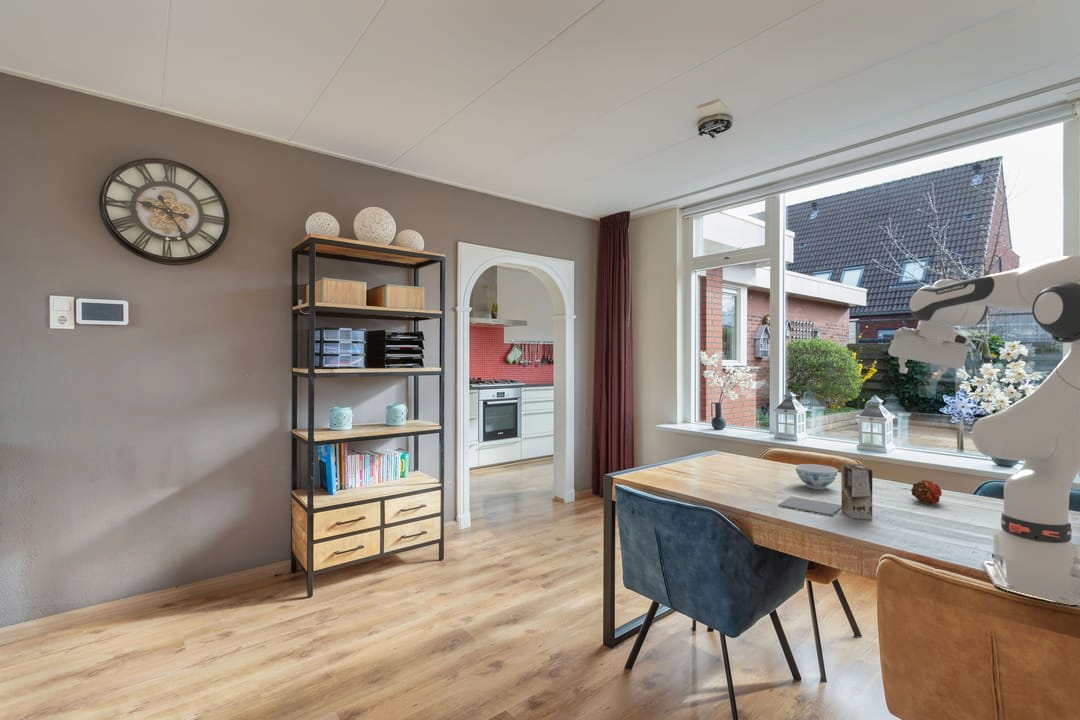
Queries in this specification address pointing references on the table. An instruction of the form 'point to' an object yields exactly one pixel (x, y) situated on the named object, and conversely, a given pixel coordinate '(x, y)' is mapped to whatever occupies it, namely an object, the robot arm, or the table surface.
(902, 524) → the table surface
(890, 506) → the table surface
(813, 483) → the chinaware
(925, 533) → the table surface
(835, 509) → the slate mat
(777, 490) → the table surface
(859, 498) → the coffee box
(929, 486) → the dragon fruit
